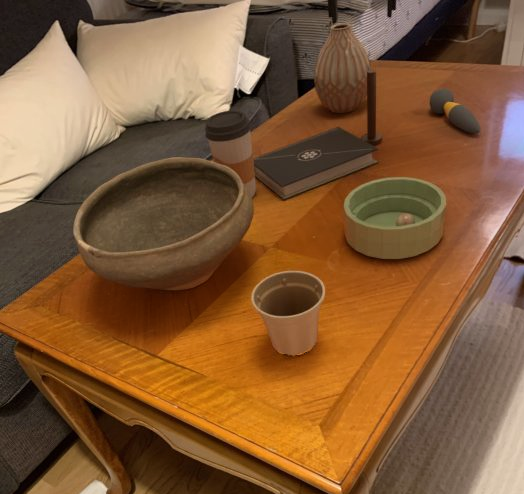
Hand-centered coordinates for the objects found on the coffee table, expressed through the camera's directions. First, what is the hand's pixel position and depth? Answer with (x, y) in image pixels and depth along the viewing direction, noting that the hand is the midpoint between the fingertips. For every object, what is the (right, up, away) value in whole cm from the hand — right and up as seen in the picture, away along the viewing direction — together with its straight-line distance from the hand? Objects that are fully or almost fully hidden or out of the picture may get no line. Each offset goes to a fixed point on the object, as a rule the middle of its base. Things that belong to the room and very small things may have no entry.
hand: (362, 18), depth 93 cm
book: (-7, -22, +14) cm, 27 cm away
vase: (+2, -1, +33) cm, 33 cm away
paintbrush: (+24, -10, +19) cm, 32 cm away
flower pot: (-13, -58, -21) cm, 63 cm away
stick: (+5, -15, +18) cm, 24 cm away
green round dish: (+4, -40, -7) cm, 41 cm away
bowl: (-31, -46, -5) cm, 56 cm away
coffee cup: (-22, -29, +10) cm, 38 cm away
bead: (+7, -38, -10) cm, 40 cm away
